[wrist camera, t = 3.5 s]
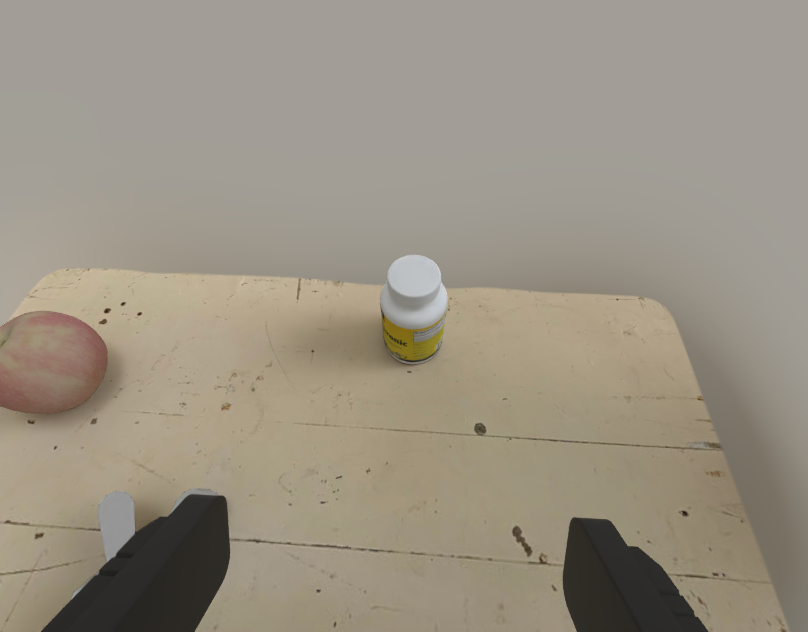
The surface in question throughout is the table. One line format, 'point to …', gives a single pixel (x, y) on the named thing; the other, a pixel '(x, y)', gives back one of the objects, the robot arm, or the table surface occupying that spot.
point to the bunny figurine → (123, 521)
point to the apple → (49, 362)
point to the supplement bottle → (413, 309)
